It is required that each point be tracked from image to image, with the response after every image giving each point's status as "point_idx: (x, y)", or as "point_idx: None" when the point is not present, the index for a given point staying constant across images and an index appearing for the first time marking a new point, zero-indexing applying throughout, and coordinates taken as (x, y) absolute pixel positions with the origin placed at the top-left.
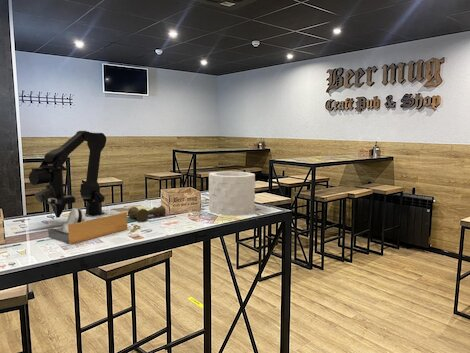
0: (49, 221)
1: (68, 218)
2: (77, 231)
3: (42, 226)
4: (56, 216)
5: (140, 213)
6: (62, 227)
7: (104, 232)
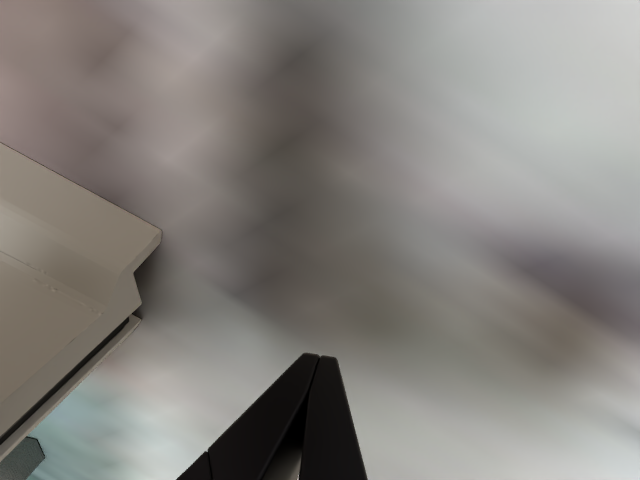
0: (599, 343)
1: (6, 337)
2: None
3: (433, 112)
4: (317, 366)
5: None
6: (120, 215)
7: None
